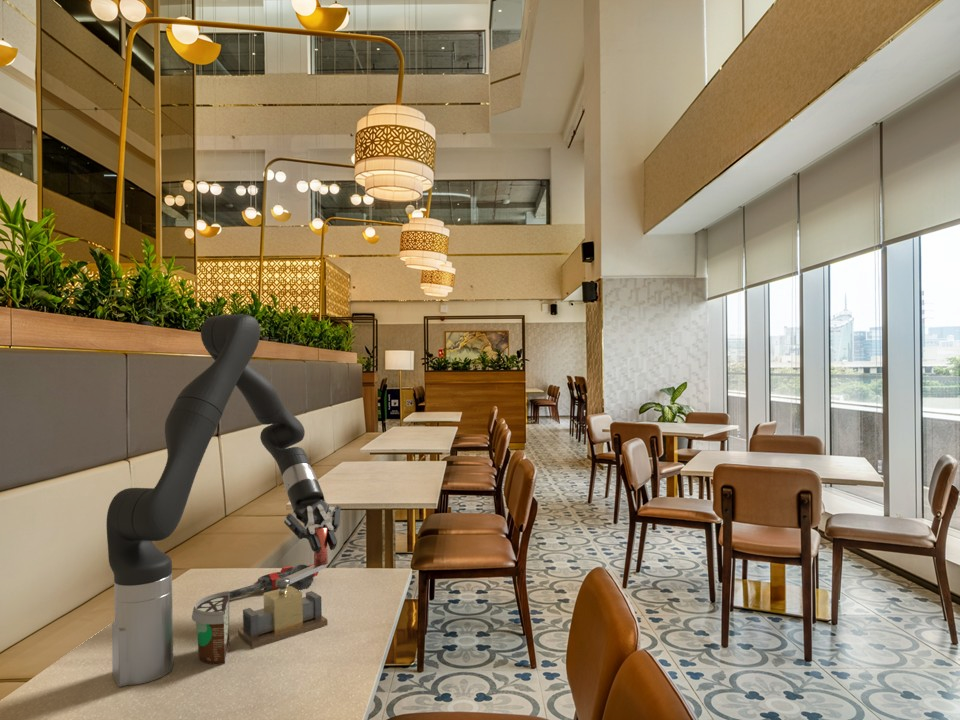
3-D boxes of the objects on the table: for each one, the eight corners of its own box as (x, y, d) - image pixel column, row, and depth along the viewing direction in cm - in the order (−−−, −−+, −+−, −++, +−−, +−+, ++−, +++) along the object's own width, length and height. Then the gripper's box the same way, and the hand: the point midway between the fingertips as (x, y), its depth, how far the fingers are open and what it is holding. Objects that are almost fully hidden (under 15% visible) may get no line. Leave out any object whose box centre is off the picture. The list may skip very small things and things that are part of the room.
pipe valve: (252, 648, 119) (251, 602, 119) (237, 635, 125) (237, 591, 125) (327, 625, 129) (326, 582, 130) (310, 614, 135) (310, 573, 136)
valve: (305, 578, 167) (328, 584, 155) (204, 607, 150) (221, 615, 139) (302, 554, 167) (325, 558, 156) (202, 580, 151) (218, 587, 139)
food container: (197, 644, 122) (196, 594, 122) (230, 639, 123) (229, 589, 124) (187, 672, 110) (186, 617, 110) (224, 667, 112) (223, 612, 112)
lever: (283, 588, 125) (282, 544, 126) (272, 586, 127) (271, 543, 127) (330, 567, 139) (329, 527, 139) (320, 565, 140) (319, 526, 140)
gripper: (278, 481, 139) (301, 546, 130) (334, 473, 148) (360, 534, 139) (269, 500, 143) (291, 565, 134) (324, 492, 152) (348, 552, 143)
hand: (326, 549), depth 136 cm, fingers closed on lever, 3 cm apart
